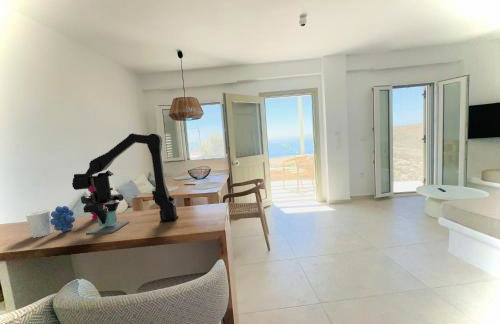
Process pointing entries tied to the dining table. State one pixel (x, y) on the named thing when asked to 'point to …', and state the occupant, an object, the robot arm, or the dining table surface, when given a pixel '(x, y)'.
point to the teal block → (109, 219)
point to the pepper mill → (97, 202)
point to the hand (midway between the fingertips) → (107, 221)
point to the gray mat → (108, 228)
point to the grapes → (62, 218)
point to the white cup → (39, 223)
